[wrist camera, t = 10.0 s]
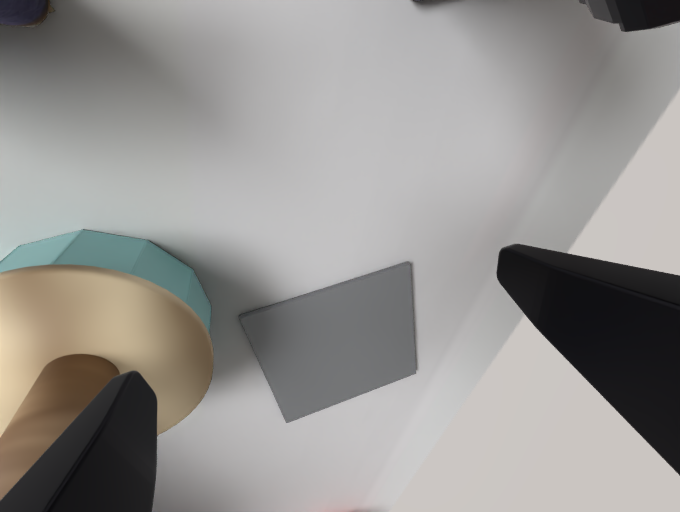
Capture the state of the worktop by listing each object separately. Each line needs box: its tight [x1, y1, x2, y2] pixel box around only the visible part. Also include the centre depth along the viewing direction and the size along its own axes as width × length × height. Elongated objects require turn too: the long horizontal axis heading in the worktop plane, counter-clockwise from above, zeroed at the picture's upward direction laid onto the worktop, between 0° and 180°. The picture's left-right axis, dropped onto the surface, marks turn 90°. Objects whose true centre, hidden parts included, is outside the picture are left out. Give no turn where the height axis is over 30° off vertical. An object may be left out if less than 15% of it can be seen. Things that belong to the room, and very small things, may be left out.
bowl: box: [0, 229, 211, 333], centre depth 18 cm, size 11×11×4 cm
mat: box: [239, 262, 416, 423], centre depth 27 cm, size 13×13×1 cm
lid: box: [0, 264, 213, 500], centre depth 14 cm, size 12×12×7 cm
